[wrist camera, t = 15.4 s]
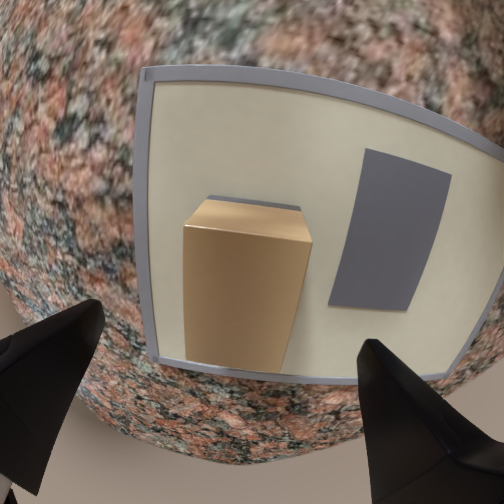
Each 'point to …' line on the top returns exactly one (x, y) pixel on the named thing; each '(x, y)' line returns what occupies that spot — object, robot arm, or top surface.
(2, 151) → the top surface
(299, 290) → the eraser
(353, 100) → the memo board
